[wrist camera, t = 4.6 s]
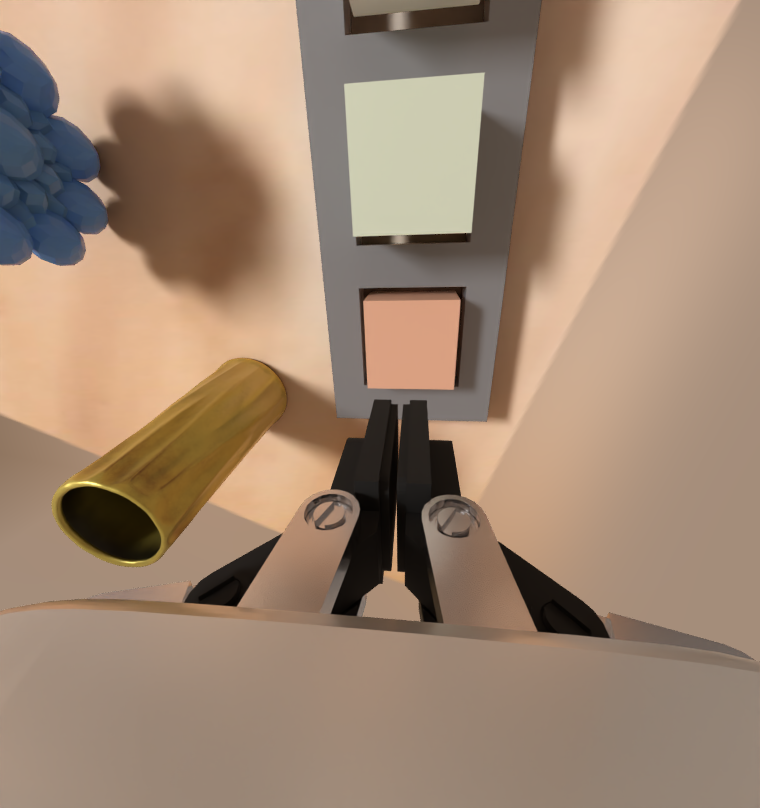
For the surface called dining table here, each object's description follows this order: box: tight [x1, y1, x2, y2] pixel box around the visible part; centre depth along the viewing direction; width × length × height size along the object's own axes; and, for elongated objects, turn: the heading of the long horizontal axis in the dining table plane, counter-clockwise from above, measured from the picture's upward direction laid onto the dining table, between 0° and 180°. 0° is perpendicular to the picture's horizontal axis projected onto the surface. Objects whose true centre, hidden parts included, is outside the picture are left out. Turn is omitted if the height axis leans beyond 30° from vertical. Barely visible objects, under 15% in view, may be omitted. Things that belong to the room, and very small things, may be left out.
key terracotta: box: [363, 290, 461, 390], centre depth 22 cm, size 6×6×4 cm
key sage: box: [344, 72, 485, 237], centre depth 16 cm, size 6×6×4 cm
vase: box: [52, 358, 287, 567], centre depth 21 cm, size 6×6×14 cm
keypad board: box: [296, 0, 542, 422], centre depth 19 cm, size 30×11×2 cm, turn 2°
